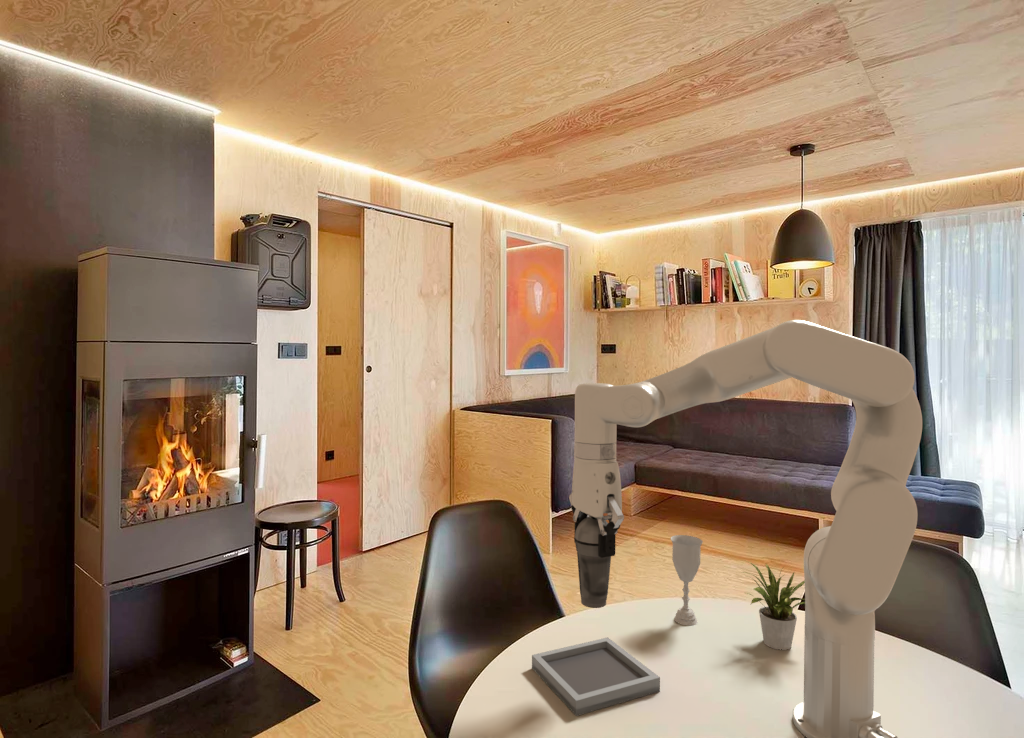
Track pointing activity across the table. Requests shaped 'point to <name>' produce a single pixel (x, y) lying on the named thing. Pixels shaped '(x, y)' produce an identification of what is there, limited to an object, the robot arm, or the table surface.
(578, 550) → the beverage cup
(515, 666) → the table surface
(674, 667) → the table surface
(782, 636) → the house plant
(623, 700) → the tray
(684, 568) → the chalice
